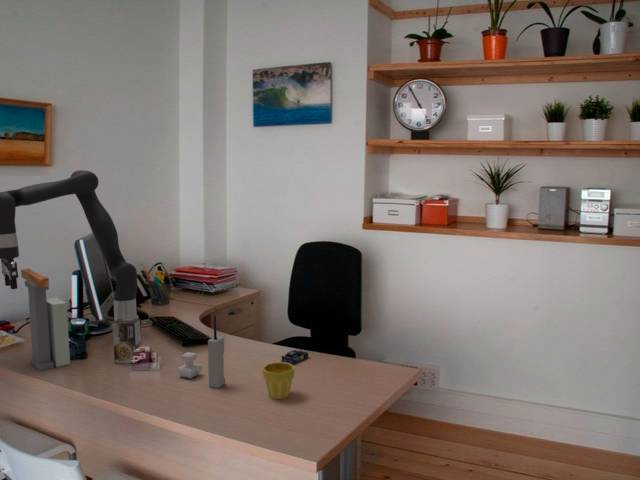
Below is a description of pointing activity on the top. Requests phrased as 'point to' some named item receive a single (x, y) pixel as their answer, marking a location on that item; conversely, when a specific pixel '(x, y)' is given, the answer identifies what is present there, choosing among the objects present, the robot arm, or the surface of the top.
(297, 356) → the race car
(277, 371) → the plant pot
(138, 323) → the coffee box
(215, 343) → the vintage mobile phone
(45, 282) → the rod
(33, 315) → the tall stand
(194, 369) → the stamp
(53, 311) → the pale green tall block
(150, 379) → the top surface
